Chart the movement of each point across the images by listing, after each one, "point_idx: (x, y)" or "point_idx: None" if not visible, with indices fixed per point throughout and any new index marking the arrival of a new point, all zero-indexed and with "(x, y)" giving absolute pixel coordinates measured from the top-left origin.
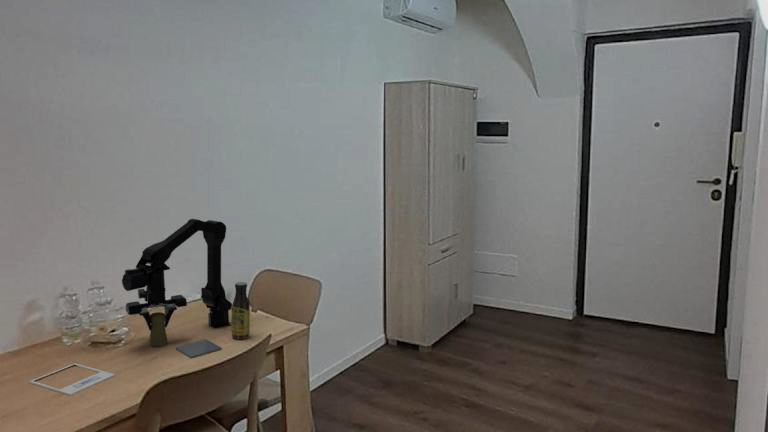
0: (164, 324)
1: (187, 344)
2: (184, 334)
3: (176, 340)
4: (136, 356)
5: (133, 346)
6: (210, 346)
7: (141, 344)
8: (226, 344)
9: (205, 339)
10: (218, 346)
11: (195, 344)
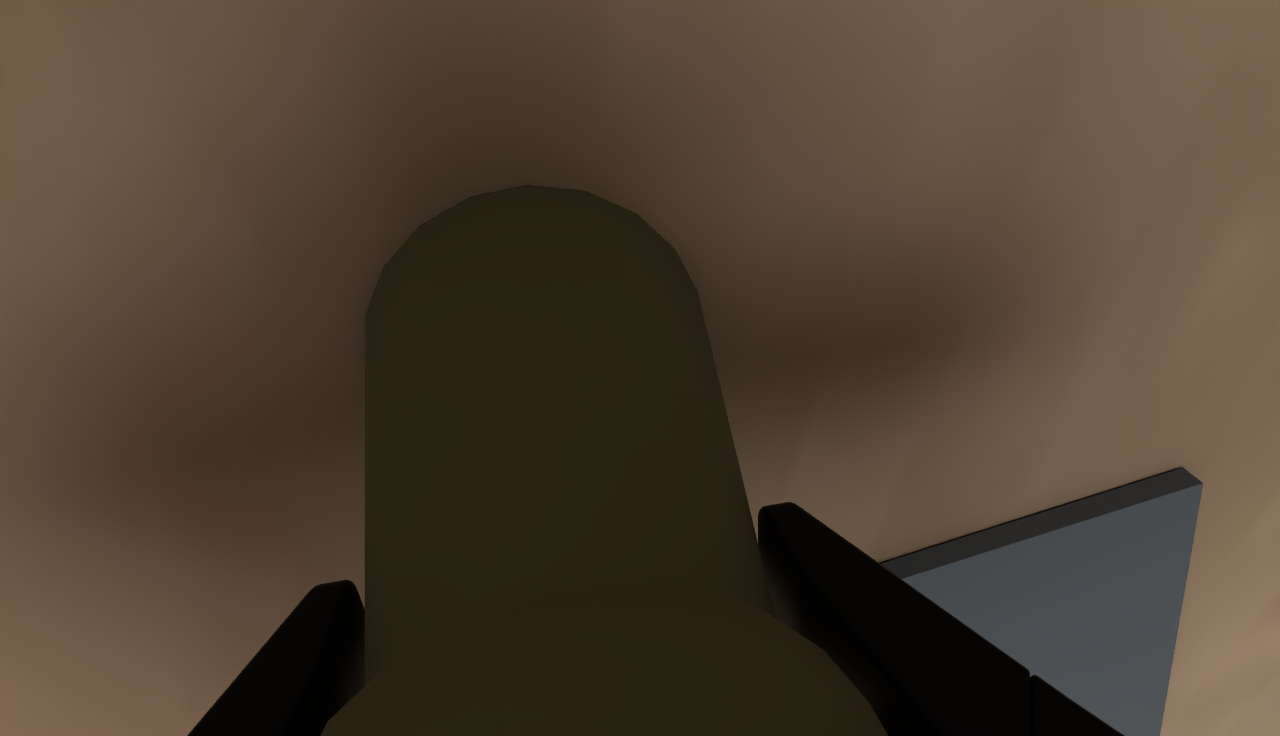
0: (780, 549)
1: (916, 584)
2: (1109, 9)
3: (858, 288)
4: (184, 695)
5: (23, 279)
6: (1095, 703)
7: (193, 229)
8: (1263, 635)
9: (1189, 495)
10: (1155, 719)
11: (997, 614)
